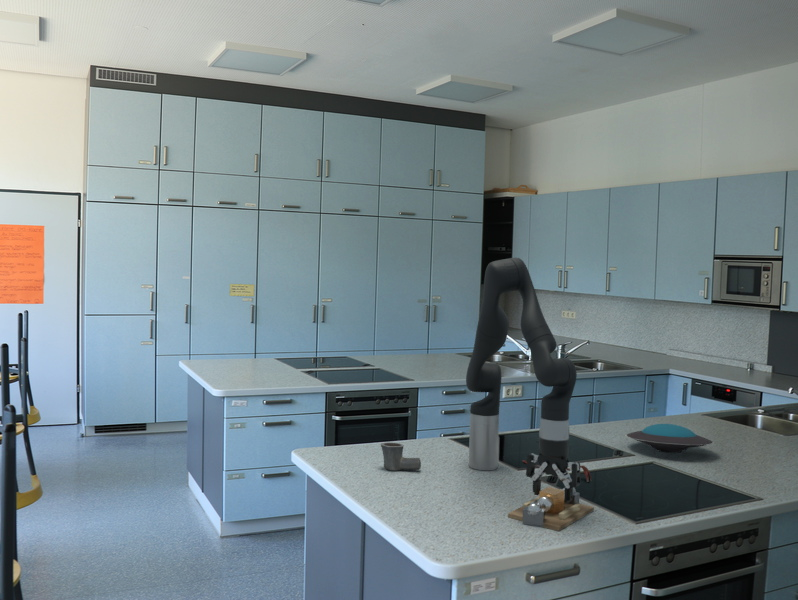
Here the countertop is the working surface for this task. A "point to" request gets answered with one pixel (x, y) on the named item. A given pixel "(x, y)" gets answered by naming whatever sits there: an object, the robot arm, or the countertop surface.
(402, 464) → the pipe
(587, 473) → the crowbar
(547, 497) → the coupling
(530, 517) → the shaft
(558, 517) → the wooden tray with rails
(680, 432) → the decorative object
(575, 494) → the shaft
